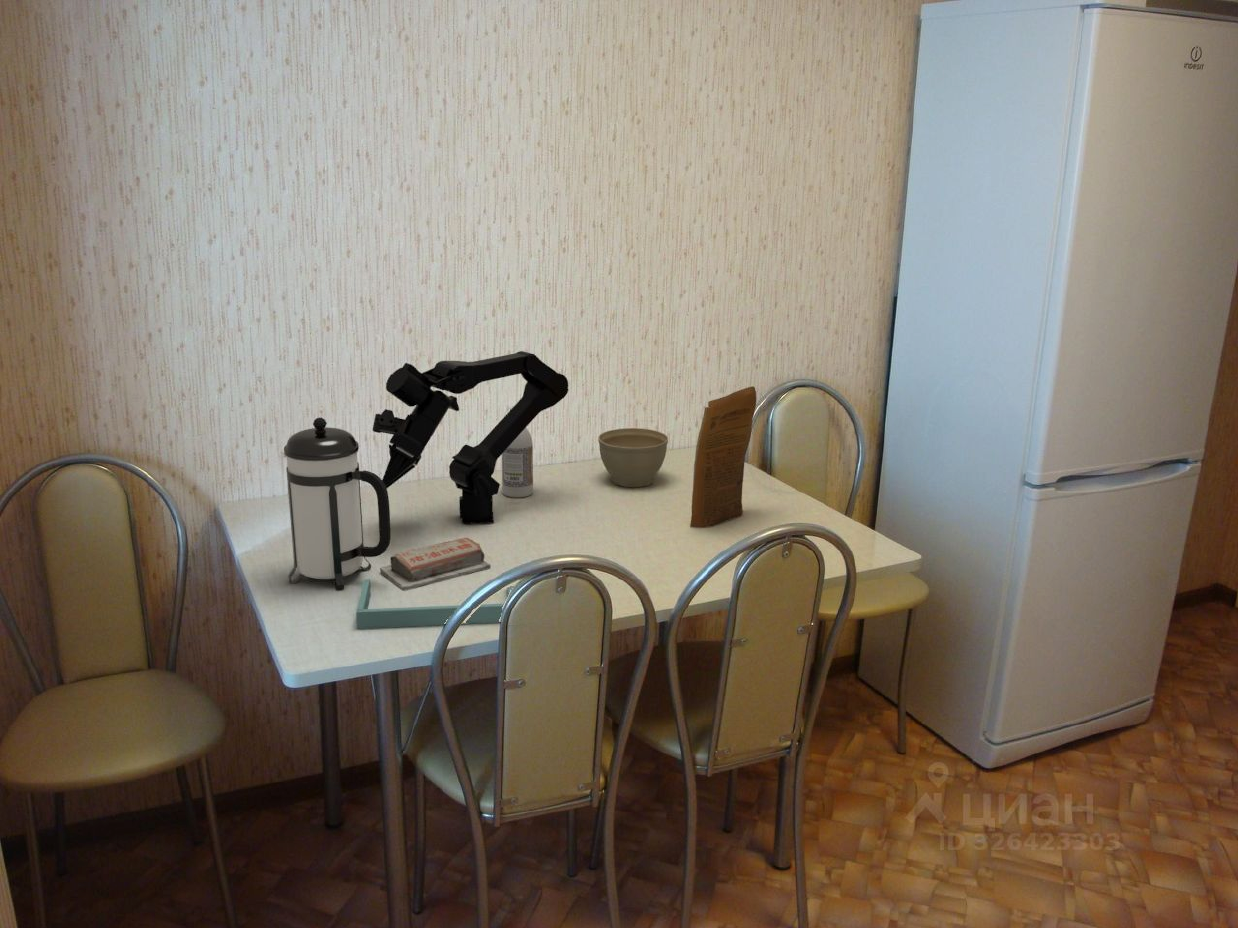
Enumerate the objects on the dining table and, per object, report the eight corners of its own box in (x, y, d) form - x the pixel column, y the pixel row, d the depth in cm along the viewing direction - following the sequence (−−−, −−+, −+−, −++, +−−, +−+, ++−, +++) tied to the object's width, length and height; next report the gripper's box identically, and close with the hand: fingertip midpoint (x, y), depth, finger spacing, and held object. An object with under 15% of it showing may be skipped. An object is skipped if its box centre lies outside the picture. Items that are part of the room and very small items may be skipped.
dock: (512, 589, 195) (512, 573, 194) (515, 621, 182) (515, 605, 181) (364, 595, 192) (363, 579, 191) (357, 628, 179) (356, 612, 178)
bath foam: (535, 497, 243) (534, 410, 237) (504, 499, 241) (502, 412, 235) (530, 487, 249) (529, 403, 243) (500, 489, 248) (498, 404, 242)
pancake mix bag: (760, 513, 235) (768, 387, 227) (701, 534, 222) (706, 401, 214) (737, 505, 240) (743, 381, 231) (677, 525, 227) (681, 395, 219)
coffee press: (295, 599, 189) (281, 434, 180) (283, 566, 203) (270, 411, 194) (394, 584, 196) (385, 424, 187) (376, 553, 210) (367, 403, 201)
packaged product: (464, 531, 210) (490, 546, 203) (464, 554, 212) (491, 570, 204) (377, 551, 200) (402, 568, 192) (379, 575, 201) (403, 593, 194)
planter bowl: (589, 474, 260) (590, 430, 256) (653, 469, 264) (654, 425, 261) (609, 495, 245) (609, 449, 242) (676, 489, 250) (678, 444, 246)
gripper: (390, 403, 223) (349, 468, 220) (389, 390, 204) (345, 460, 202) (437, 431, 224) (397, 496, 221) (440, 420, 206) (397, 491, 203)
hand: (383, 486), depth 212 cm, fingers open, 9 cm apart
